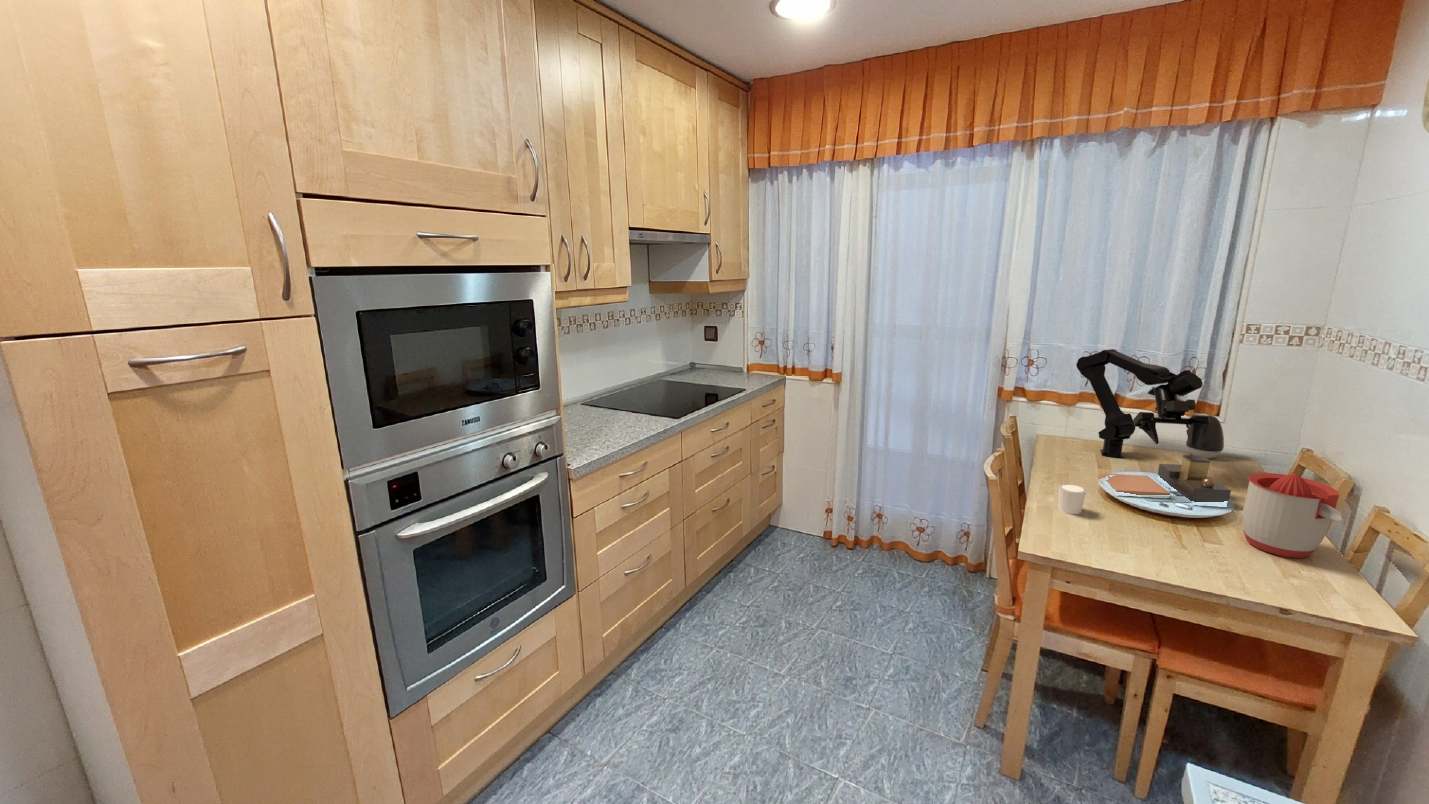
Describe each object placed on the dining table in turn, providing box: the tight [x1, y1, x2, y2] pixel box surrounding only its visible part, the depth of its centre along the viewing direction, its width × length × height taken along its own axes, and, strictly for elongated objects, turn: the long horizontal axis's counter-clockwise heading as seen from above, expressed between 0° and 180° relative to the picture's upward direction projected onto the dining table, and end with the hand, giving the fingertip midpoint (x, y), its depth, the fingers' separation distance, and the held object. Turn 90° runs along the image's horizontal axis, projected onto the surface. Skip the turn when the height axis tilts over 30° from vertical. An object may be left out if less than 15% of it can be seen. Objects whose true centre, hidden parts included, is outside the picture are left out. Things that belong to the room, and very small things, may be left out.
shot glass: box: [1058, 483, 1087, 515], centre depth 165 cm, size 7×7×7 cm
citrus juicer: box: [1242, 472, 1343, 559], centre depth 139 cm, size 16×17×20 cm
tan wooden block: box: [1179, 454, 1211, 481], centre depth 172 cm, size 4×5×8 cm
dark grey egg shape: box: [1185, 415, 1225, 460], centre depth 201 cm, size 10×10×15 cm
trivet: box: [1097, 472, 1171, 495], centre depth 178 cm, size 14×14×2 cm
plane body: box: [1157, 463, 1232, 503], centre depth 173 cm, size 20×9×8 cm, turn 166°
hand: (1174, 445), depth 178 cm, fingers open, 9 cm apart
